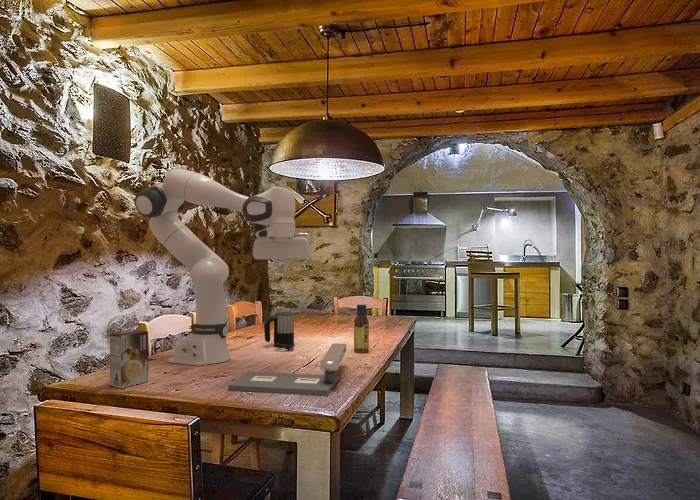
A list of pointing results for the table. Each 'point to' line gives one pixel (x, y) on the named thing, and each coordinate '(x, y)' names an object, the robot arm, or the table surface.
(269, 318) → the milk frother
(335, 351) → the grey flat bar
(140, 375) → the coffee box
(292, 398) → the table surface
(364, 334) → the sauce bottle
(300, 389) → the label board
